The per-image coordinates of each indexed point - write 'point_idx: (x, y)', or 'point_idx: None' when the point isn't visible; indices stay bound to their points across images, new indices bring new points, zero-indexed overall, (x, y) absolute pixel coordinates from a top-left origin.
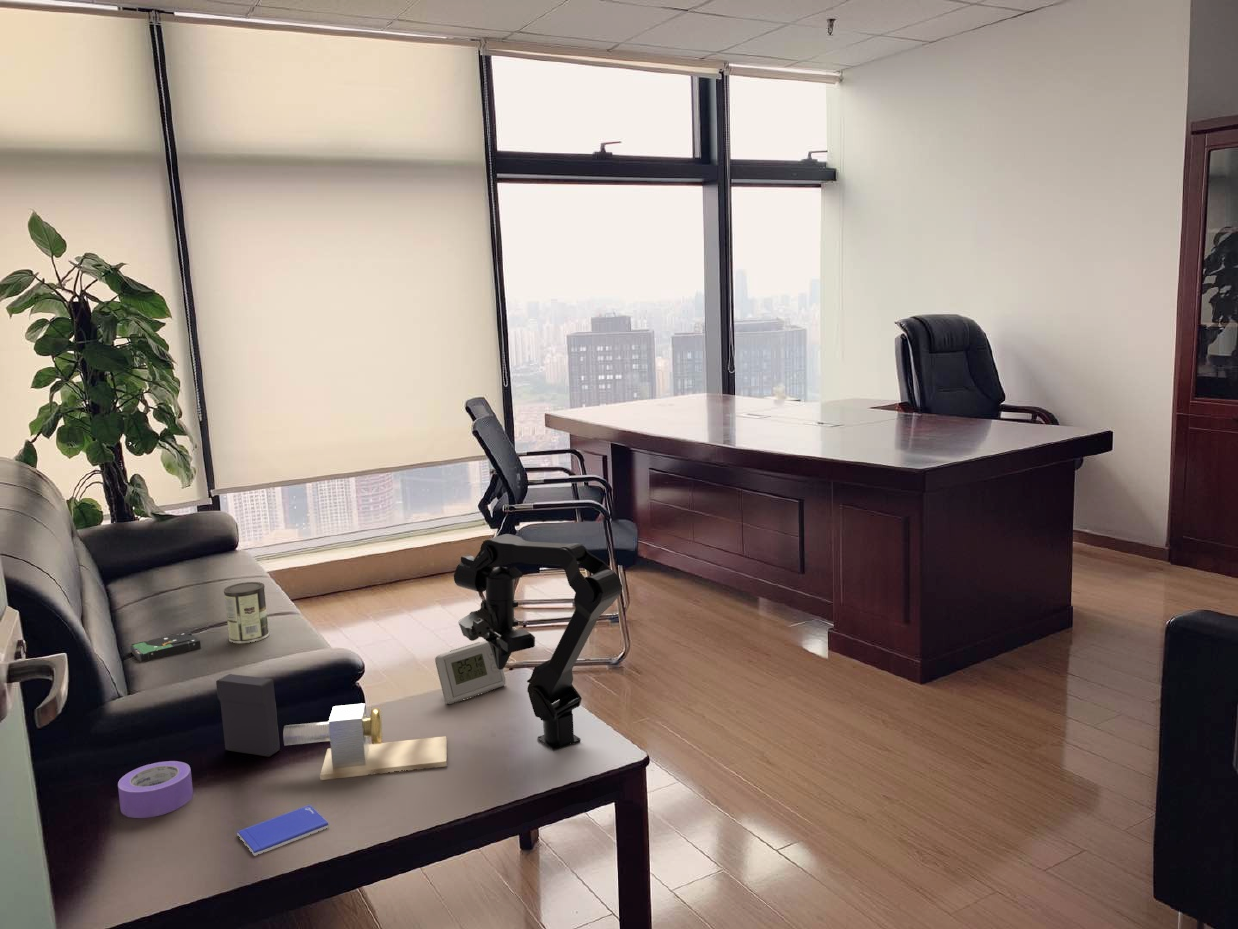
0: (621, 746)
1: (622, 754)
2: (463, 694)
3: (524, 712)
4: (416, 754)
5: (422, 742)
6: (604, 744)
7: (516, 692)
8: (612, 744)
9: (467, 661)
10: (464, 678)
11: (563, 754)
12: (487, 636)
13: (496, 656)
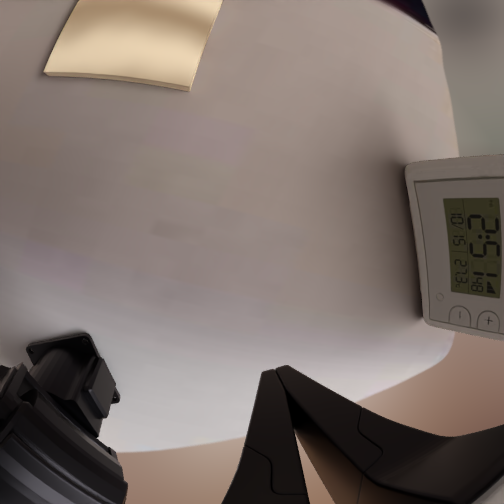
0: None
1: None
2: (418, 212)
3: (273, 342)
4: (122, 8)
5: (185, 25)
6: None
7: (385, 338)
8: None
9: (493, 251)
10: (455, 227)
11: (15, 355)
12: (489, 497)
13: (286, 429)
